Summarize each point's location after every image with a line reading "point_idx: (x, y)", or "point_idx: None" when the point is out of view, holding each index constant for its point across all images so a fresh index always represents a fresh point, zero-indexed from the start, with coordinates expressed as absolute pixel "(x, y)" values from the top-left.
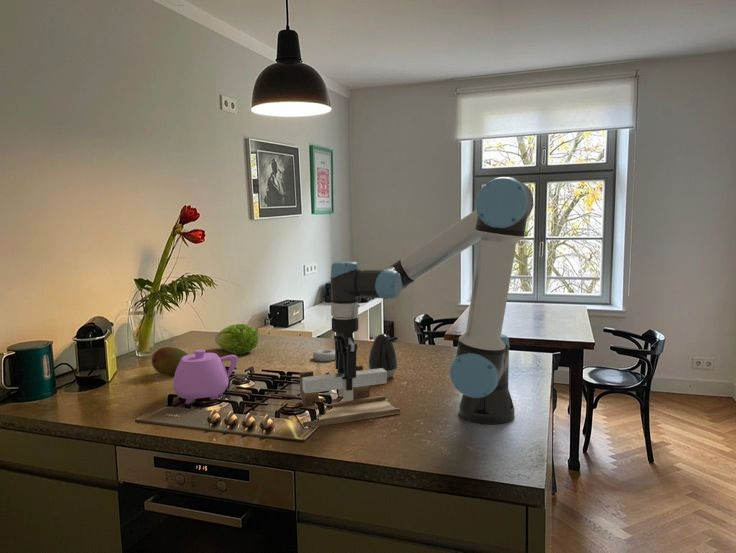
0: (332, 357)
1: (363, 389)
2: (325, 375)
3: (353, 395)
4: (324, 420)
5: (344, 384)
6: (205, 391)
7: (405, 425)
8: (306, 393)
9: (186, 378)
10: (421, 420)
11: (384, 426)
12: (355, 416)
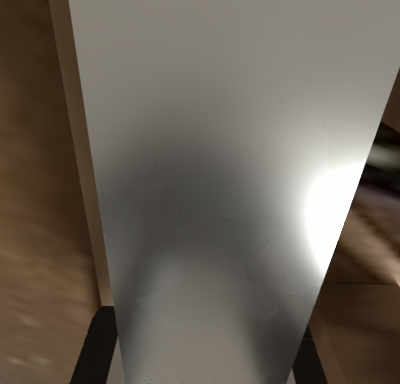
0: None
1: (316, 348)
2: (274, 298)
3: (361, 293)
4: (57, 46)
5: (117, 338)
6: None
7: (2, 325)
8: None
9: None
10: (38, 367)
11: (3, 275)
12: (88, 220)
